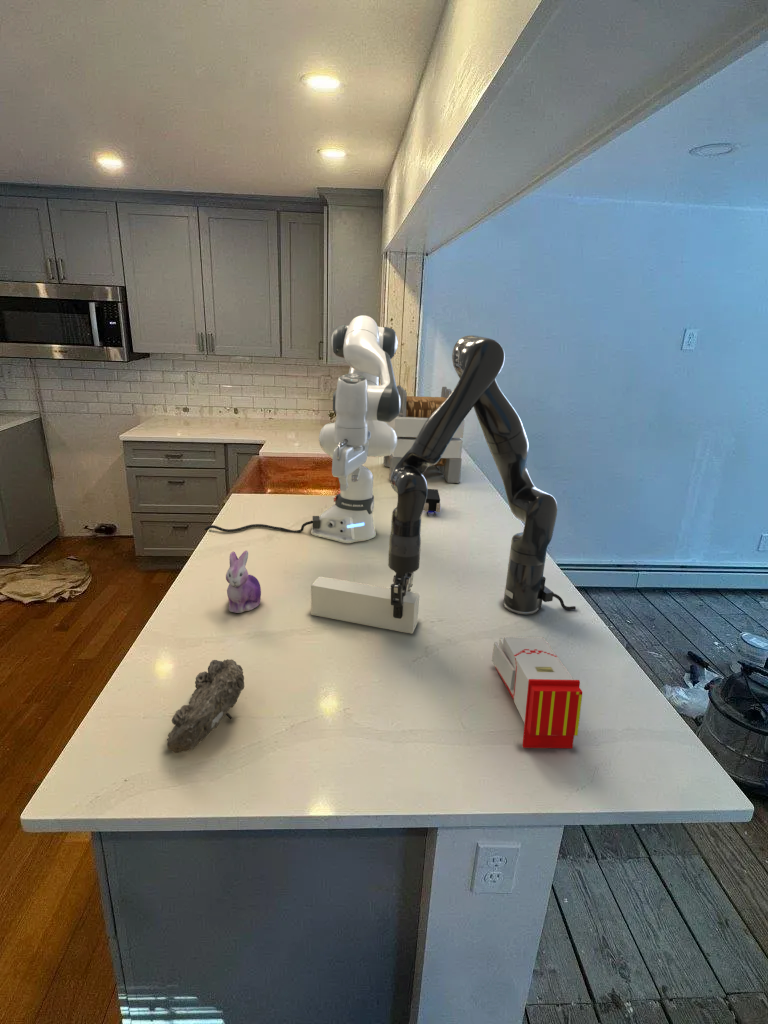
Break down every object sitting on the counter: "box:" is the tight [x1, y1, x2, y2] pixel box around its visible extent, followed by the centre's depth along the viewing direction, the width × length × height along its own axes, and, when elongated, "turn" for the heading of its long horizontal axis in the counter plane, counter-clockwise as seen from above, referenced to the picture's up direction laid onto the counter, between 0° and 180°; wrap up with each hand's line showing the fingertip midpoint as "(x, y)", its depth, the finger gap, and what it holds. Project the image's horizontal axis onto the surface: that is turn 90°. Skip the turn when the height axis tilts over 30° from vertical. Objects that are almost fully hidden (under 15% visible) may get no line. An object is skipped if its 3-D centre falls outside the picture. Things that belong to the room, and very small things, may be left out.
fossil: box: [166, 658, 245, 754], centre depth 106 cm, size 22×10×15 cm
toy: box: [491, 636, 583, 749], centre depth 115 cm, size 12×13×30 cm
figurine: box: [225, 550, 262, 614], centre depth 146 cm, size 9×10×15 cm
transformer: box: [383, 384, 465, 484], centre depth 268 cm, size 34×33×41 cm
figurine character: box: [423, 488, 441, 517], centre depth 222 cm, size 7×8×15 cm
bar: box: [310, 575, 421, 635], centre depth 143 cm, size 27×6×8 cm, turn 74°
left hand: (349, 485), depth 157 cm, fingers open, 8 cm apart
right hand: (400, 611), depth 141 cm, fingers closed on bar, 5 cm apart
